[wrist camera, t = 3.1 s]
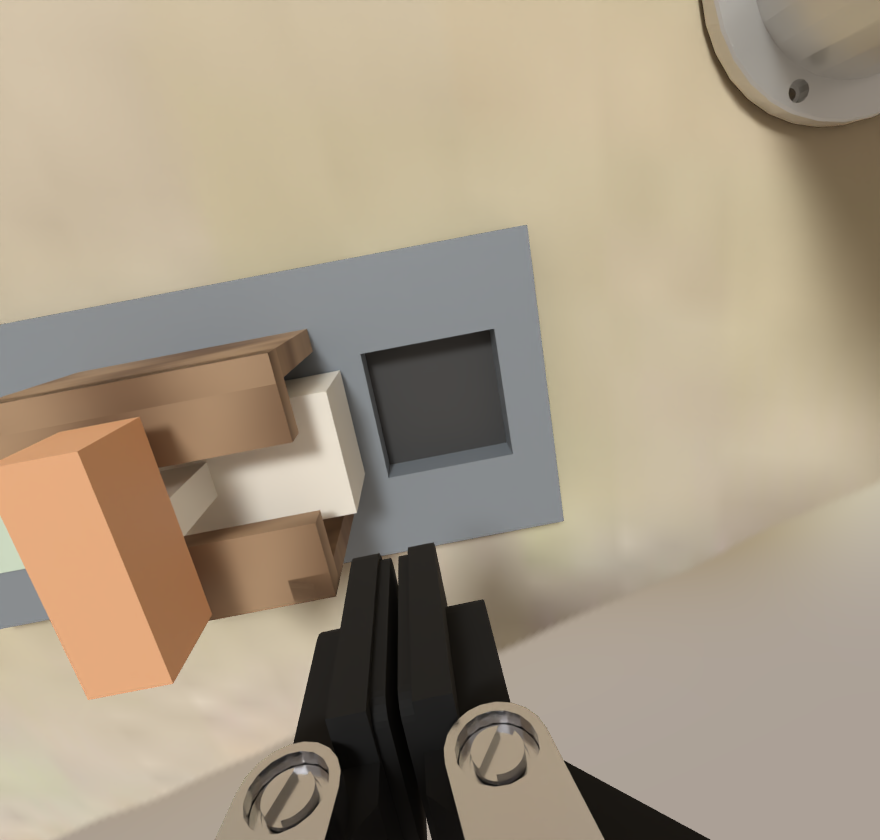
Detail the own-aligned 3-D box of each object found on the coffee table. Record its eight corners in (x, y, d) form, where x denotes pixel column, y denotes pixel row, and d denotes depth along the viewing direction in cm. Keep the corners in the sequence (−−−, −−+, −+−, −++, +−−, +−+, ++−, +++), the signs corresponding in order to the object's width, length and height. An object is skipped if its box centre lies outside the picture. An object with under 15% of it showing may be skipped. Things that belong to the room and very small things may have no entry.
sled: (334, 347, 23) (274, 413, 12) (369, 493, 25) (342, 651, 14) (61, 399, 22) (-220, 507, 12) (119, 541, 24) (-83, 732, 14)
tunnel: (307, 328, 22) (267, 352, 16) (354, 514, 25) (335, 596, 19) (78, 372, 22) (-49, 413, 16) (149, 553, 25) (63, 648, 19)
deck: (517, 228, 24) (527, 224, 22) (553, 503, 28) (564, 522, 26) (-134, 351, 24) (-185, 359, 21) (-2, 609, 28) (-35, 637, 26)
